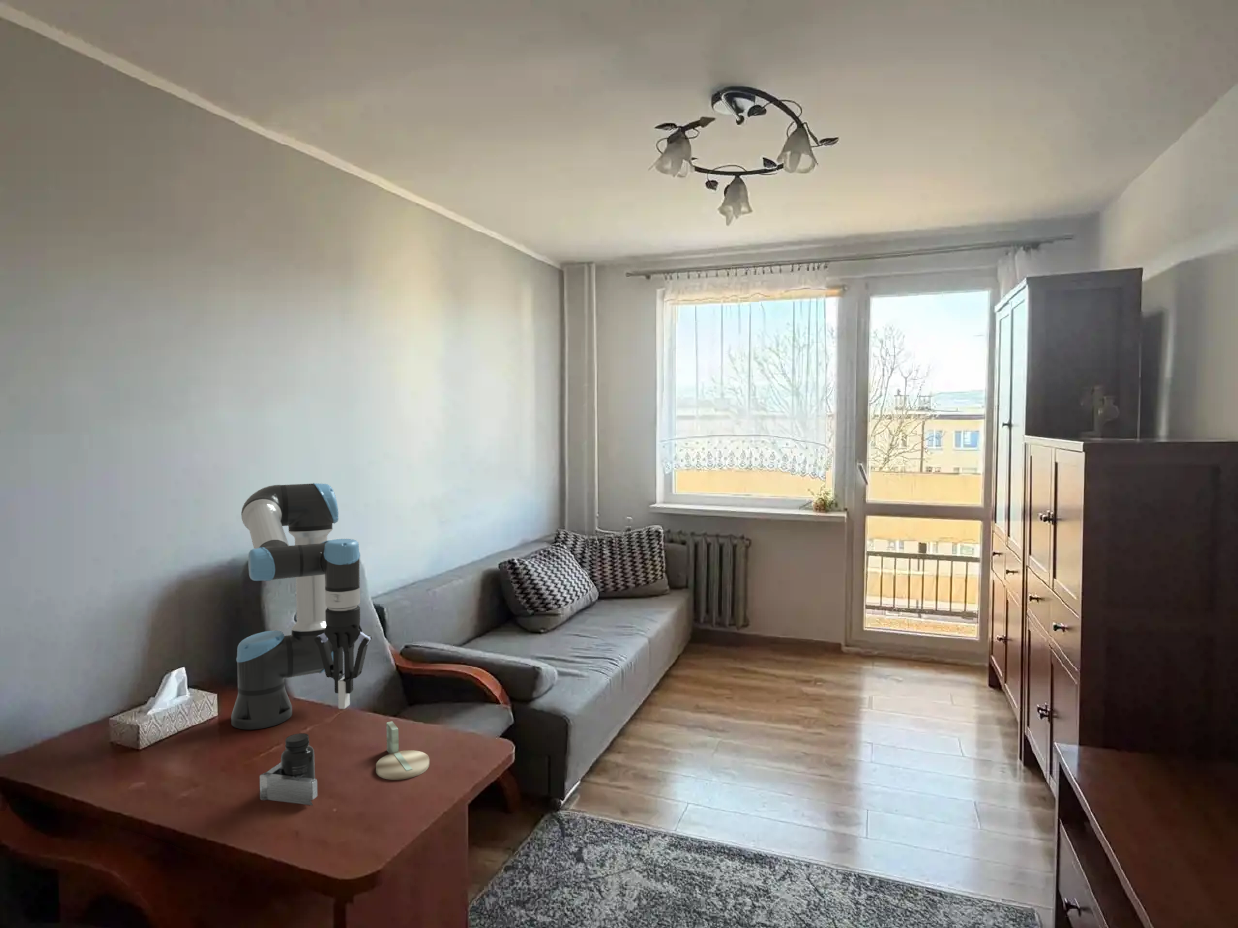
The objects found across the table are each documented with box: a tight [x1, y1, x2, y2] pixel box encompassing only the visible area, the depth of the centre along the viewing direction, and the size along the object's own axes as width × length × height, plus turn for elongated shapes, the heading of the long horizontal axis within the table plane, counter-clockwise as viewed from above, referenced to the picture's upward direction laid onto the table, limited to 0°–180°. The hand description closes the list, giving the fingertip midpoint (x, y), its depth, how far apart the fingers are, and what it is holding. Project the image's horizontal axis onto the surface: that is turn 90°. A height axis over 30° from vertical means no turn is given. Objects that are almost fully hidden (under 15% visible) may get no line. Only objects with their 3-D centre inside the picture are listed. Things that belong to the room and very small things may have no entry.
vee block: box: [259, 761, 318, 806], centre depth 160 cm, size 18×10×5 cm, turn 33°
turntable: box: [375, 720, 430, 781], centre depth 171 cm, size 17×12×7 cm
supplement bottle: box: [280, 732, 316, 779], centre depth 161 cm, size 7×7×12 cm
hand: (344, 706), depth 168 cm, fingers closed
